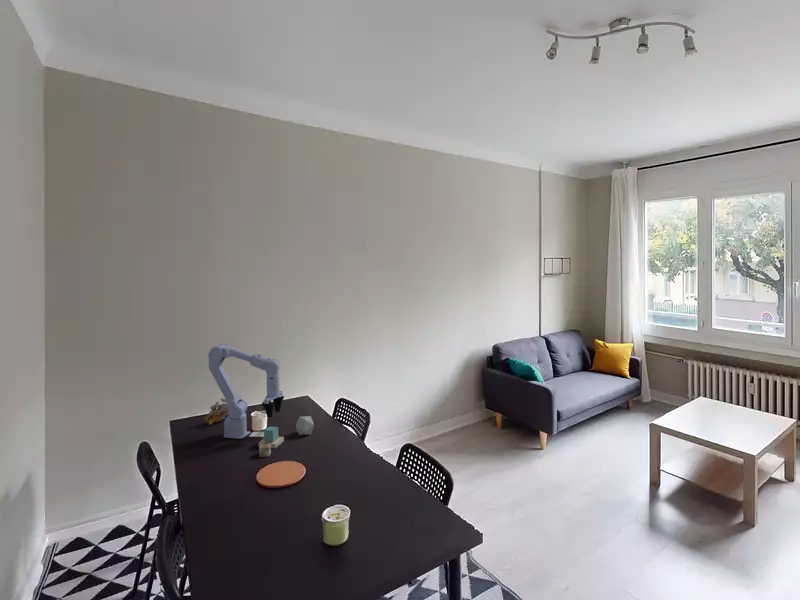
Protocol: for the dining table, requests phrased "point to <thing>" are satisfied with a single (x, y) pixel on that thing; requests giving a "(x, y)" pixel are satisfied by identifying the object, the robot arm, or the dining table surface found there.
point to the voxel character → (217, 412)
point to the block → (265, 450)
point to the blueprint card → (257, 434)
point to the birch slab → (273, 444)
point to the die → (305, 425)
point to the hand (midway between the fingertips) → (273, 414)
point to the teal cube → (271, 434)
